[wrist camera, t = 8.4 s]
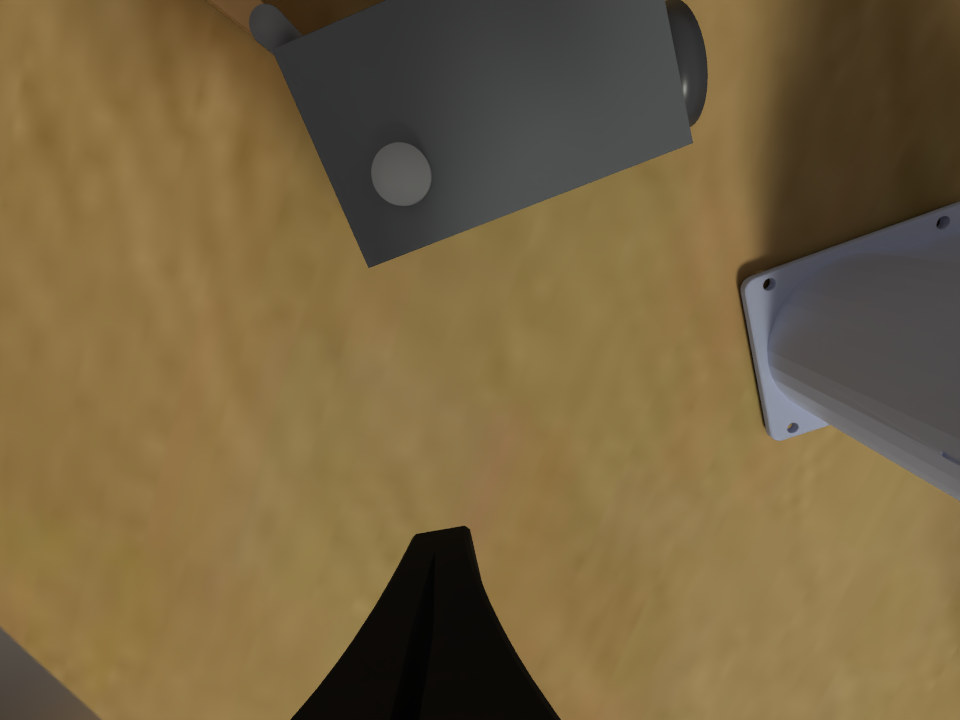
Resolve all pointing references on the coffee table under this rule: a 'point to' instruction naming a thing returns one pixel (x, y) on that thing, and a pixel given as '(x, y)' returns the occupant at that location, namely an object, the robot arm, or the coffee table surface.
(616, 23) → the camera body
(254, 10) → the side door
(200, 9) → the coffee table surface
